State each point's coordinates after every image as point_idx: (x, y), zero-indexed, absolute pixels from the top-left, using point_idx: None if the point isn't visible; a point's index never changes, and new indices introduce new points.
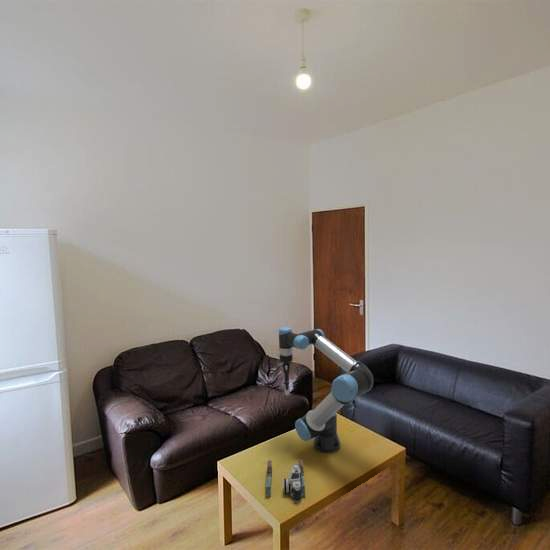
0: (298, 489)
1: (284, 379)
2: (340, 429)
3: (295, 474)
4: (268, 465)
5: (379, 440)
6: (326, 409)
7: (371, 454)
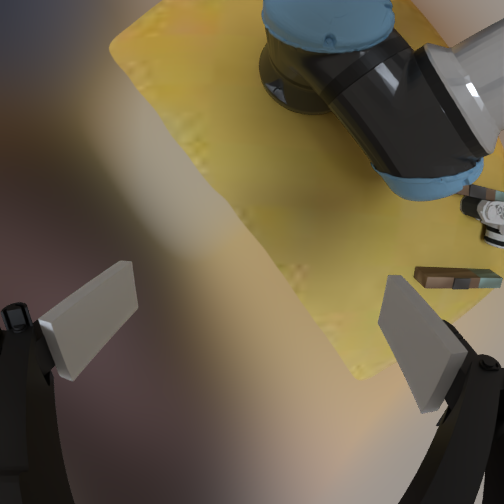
0: None
1: (106, 341)
2: (203, 21)
3: None
4: (444, 285)
5: None
6: None
7: None
